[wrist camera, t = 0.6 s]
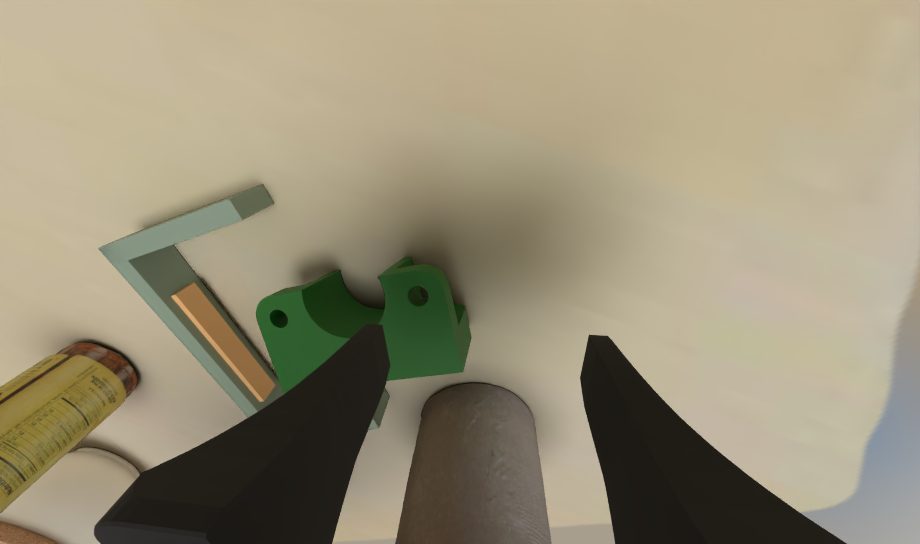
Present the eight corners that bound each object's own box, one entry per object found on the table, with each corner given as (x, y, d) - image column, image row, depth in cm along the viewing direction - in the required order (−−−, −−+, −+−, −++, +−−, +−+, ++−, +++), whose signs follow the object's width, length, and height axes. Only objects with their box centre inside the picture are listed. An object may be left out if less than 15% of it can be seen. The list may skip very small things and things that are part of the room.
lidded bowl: (182, 471, 37) (72, 609, 27) (147, 512, 42) (44, 640, 32) (58, 412, 33) (-118, 544, 24) (37, 463, 39) (-115, 590, 29)
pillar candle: (413, 445, 31) (360, 707, 18) (430, 369, 27) (375, 649, 13) (517, 465, 32) (538, 736, 19) (552, 394, 27) (614, 691, 14)
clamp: (437, 242, 26) (471, 257, 18) (454, 315, 28) (493, 362, 19) (271, 283, 24) (216, 323, 15) (298, 360, 25) (261, 438, 16)
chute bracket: (292, 414, 31) (273, 445, 28) (143, 229, 23) (97, 248, 20) (389, 396, 28) (379, 428, 26) (262, 184, 21) (228, 199, 18)
